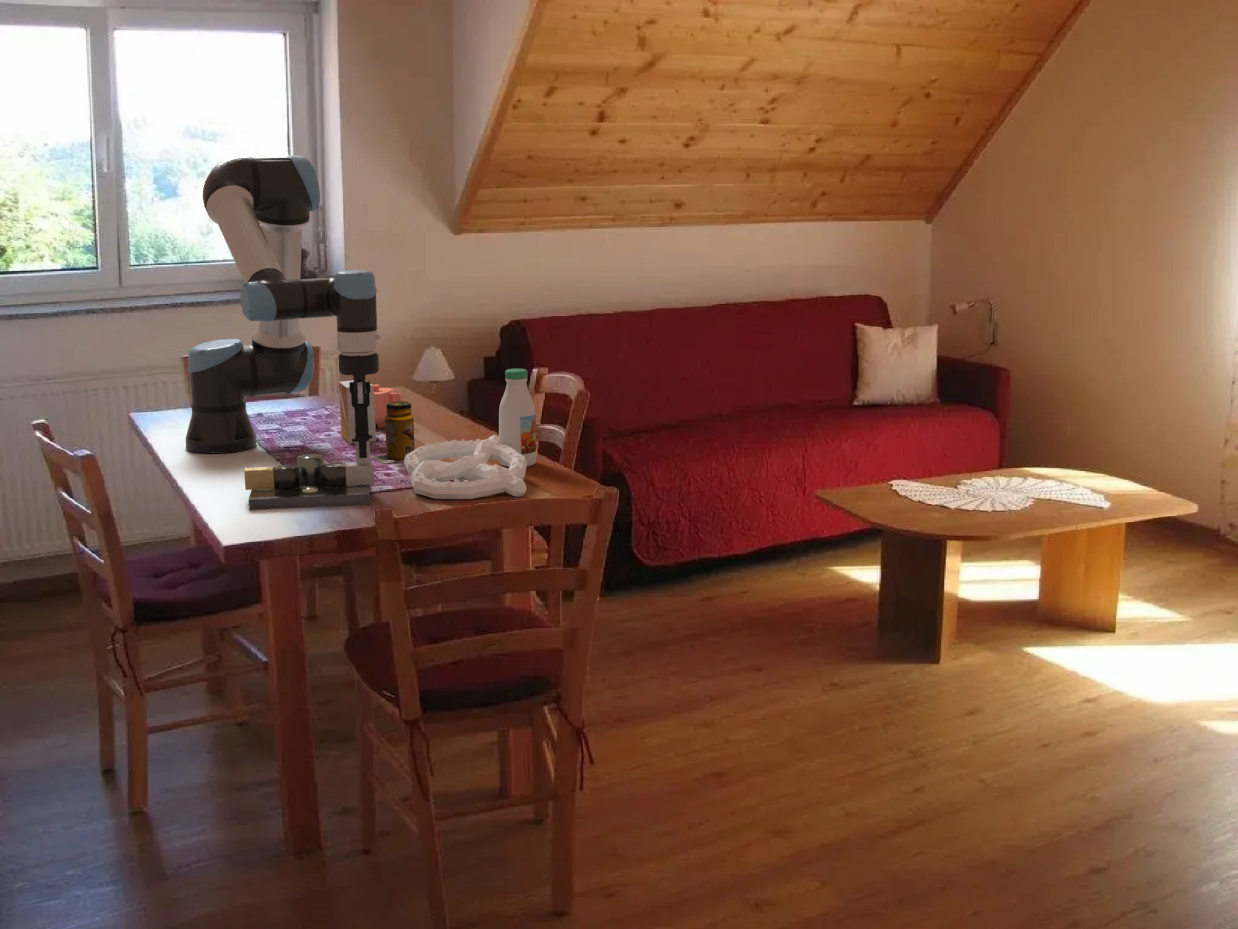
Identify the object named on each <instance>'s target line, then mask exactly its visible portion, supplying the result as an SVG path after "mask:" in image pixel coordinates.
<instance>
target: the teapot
mask: <svg viewBox="0 0 1238 929" xmlns="http://www.w3.org/2000/svg"><path fill="white" fill-rule="evenodd" d="M372 385H373V389H374V409H375V425H377V428H378V429H384V428H385V417H386V415H387V413H386V411H387V407H386V406H387V404H388V403H390V402H397V401H402V402H404V400H403V394H402V392H396V391H395V389H394V388H391V387H381V385H380V384H377V383H376V384H372Z"/></svg>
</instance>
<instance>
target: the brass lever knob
mask: <svg viewBox="0 0 1238 929" xmlns="http://www.w3.org/2000/svg"><path fill="white" fill-rule="evenodd" d="M243 473H244V486H245V488H244V489H245V491H251V490H256V489H278V490H290V489H295V488H298V487H300V477H299V466H297V465H295V464H281V465H280V464H279V465H275V466H263V467H262V466H260V467H244V471H243Z"/></svg>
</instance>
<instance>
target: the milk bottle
mask: <svg viewBox="0 0 1238 929" xmlns="http://www.w3.org/2000/svg"><path fill="white" fill-rule="evenodd" d="M504 374H505V375H504V376H505V382H506V386H505V390H504V392H503V396H502V397H501V400H500V403H499V406H498V407H499V408H498V436H499V437H501V438H502V441H503V443H504V444H503V445H507V446H508V447H511V448H512V449H514V450H516V451H517V452H518V453H520V454H521V455H522V456H524V457H525V459H526V461H527V467H530V466H533V465H535V464H536V463H537V420H536V419H537V416H536V407H535V403H534V400H533V397H532V396H531V393H530V391H529V388H528V384H527V381H529V380H528V376H529V375H528V370H527V369H526V368H508V369H506V370H505V372H504ZM499 462H500V465H501V466H504V467H508V466H507V465H505V464H504V463H503V462H501V461H499Z"/></svg>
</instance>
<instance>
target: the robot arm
mask: <svg viewBox="0 0 1238 929" xmlns="http://www.w3.org/2000/svg"><path fill="white" fill-rule="evenodd" d="M202 201H203V206H204V209H205V211H206V213H207V215H208V217H209V219H210V220H211V221H212V222H214V223H215V224H217V225H218V227H219V229H220V232H221V235H222V237H223V238H224V241H225V243H226V245H227V247H228V250H229V251H230V254H231V256H232V258H233V261H234V263H235V264H236V267H237V269H238V271H239V273H240V275H241V279H242V280H243V282H244V283H243V284H242V286H241V287H240V288H241V289H240V294H239V300H240V301H239V302H240V306H241V310H242V314H243V316H244V318H245V319H246V320H248V321H251V322H259V324H258V325H259V326H258V329H256V330H255V331H253V333H252V334H251V344H244V343H243V342H242V340H241V339H238V338H227V339H217V340H211V341H207V342H203V343H200V344H197V345H195V346H193V347H192V348H191V349H190V350H189V351H188V356H187V357H188V359H187V362H188V363H187V366H188V367H187V372H188V376H189V389H190V390H189V392H190V404H191V405H190V406H191V415H190V420H189V424H188V428H187V432H186V435H185V449H186V450H187V451H189V452H193V453H199V454H226V453H227V454H228V453H234V452H235V453H236V452H241V451H246V450H250V449H251V448H254V447H256V445H257V434H256V431H255V429H254V427H253V424H252V422H251V419H250V416H249V415H248V411H247V402H246V399H248V398H253V397H268V396H278V395H292V394H296V393H301V392H304V391H305V390H306V389H308V388H309V386H310V384H311V383H312V380H313V376H314V371H315V358H314V356H315V355H314V349H313V346H312V344H311V343H310V342H309V341H307V340H306V336H305V334H304V333H303V332H302V331H301V330H300V319H312V318H313V319H314V318H315V319H316V318H329V317H335V318H336V338H337V339H336V342H337V343H336V344H337V351H338V352H340V354H339V355H337V356H338V358H337V359H338V372H339V373H340V374H342V375H343V376H353V380H352V381H353V382H349V388H350V393H351V402H352V407H354V410H355V433H356V434H355V438H352V442H355V443H354V445H355V463H371V451H370V450H371V449H370V448H371V447H370V446H371V442H370V441H369V438H372V435H369V434H368V433H369V429H368V411H367V407H368V406H369V405H370V398H369V393H370V383H371V381H367V380H366V376H367V375H375V374H377V373H379V371H380V360H379V358H380V357H379V354H378V353H377V351H378V350H379V348H378V347H379V346H378V340H379V341H380V340H381V338H382V337H381V334H380V333H379V334H377V333H378V316H377V312H378V311H377V293H378V292H377V291H378V290H377V286H376V278H375V274H374V273H373V272H372V271H370V270H363V269H350V270H349V269H348V270H340V271H338V272H336V273H335V275H325V276H322V277H318V278H316V277H315V278H302V279H301V271H302V270H301V268H302V267H301V266H302V239H303V238H302V233H303V227H305V226H306V225H308V224H309V222H310V213H311V212H315V211H317V210H318V209H319V208H320V205H321V190H320V184H319V179H318V176H317V173H316V170H315V166H313V164H312V162H311V161H310V160H309V159H308V158H307V157H306V156H303V155H291V154H288V153H286V154H269V155H268V154H266V155H244V154H243V155H242V154H241V155H233V156H230V157H227V158H225V159H223V160H222V161H220V162H219V163H218V164H216V165H215V166H213V168H212V169H211V171H210V172H209V174H208V175H207V176H206V179H205V182H204V184H203V188H202ZM365 380H366V381H365ZM366 392H367V393H366Z"/></svg>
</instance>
